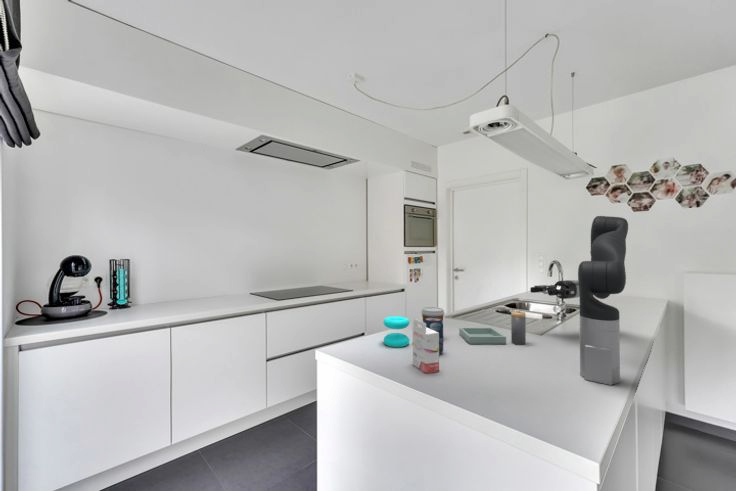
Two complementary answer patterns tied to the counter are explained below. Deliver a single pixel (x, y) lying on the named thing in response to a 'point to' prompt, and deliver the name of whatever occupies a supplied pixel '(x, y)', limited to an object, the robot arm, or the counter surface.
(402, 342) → the donuts
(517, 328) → the battery
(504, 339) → the bin
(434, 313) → the disposable coffee cup
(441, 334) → the soda can
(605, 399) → the counter surface
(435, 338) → the ink cartridge box
